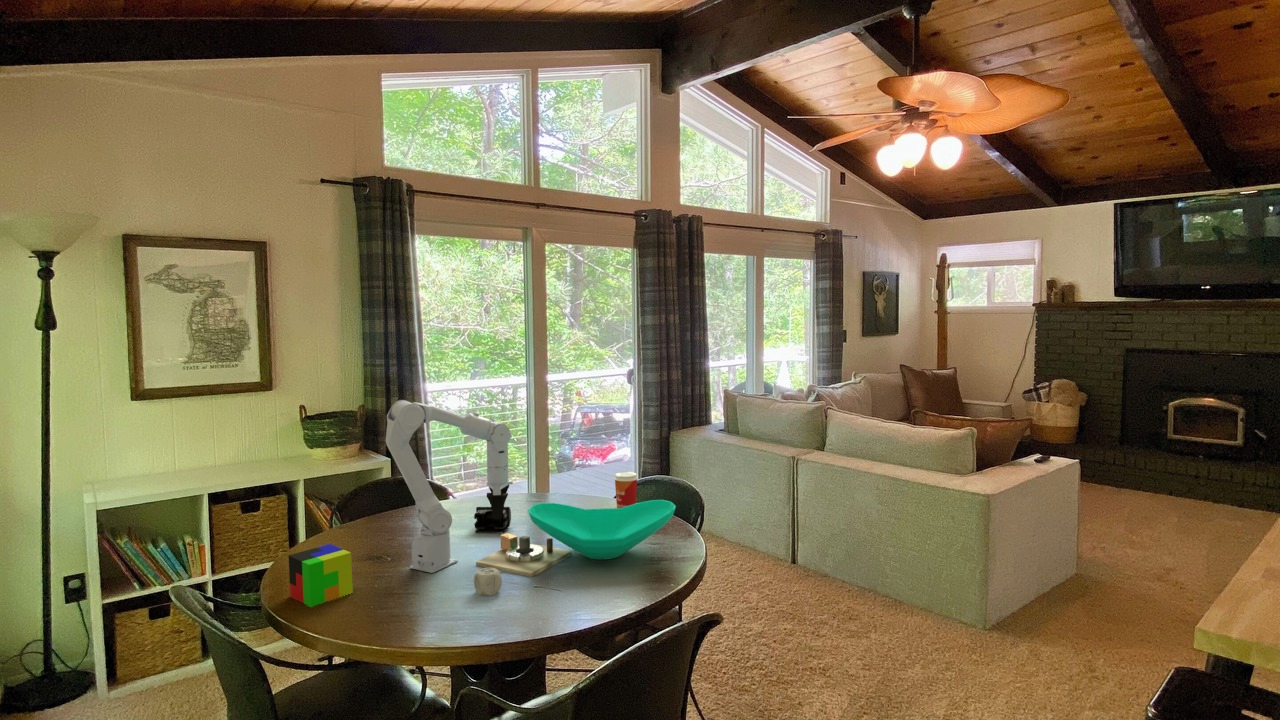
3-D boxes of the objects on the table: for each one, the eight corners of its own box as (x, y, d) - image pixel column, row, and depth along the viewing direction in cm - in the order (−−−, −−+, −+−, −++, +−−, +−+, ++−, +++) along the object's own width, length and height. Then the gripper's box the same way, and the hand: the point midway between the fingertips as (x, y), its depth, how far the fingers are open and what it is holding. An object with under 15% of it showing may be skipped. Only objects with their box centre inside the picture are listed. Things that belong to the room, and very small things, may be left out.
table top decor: (671, 536, 206) (670, 491, 205) (682, 572, 178) (681, 520, 177) (533, 540, 203) (532, 495, 202) (523, 577, 176) (522, 525, 175)
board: (532, 576, 176) (531, 553, 175) (476, 565, 184) (475, 542, 184) (572, 554, 192) (571, 532, 191) (518, 544, 200) (518, 523, 200)
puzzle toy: (331, 583, 173) (330, 543, 173) (352, 593, 167) (351, 552, 166) (290, 596, 166) (288, 555, 165) (310, 608, 159) (308, 564, 159)
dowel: (550, 553, 190) (550, 540, 190) (545, 552, 191) (545, 539, 191) (554, 551, 192) (553, 538, 191) (549, 550, 192) (548, 537, 192)
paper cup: (611, 515, 228) (611, 472, 226) (634, 513, 230) (633, 470, 229) (618, 522, 220) (617, 478, 219) (641, 519, 222) (641, 475, 221)
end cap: (511, 525, 218) (510, 504, 218) (506, 533, 211) (505, 510, 211) (479, 525, 218) (478, 504, 218) (473, 533, 211) (472, 511, 211)
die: (482, 597, 164) (481, 576, 163) (473, 591, 168) (473, 570, 167) (502, 592, 167) (501, 571, 166) (493, 586, 171) (492, 565, 170)
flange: (551, 554, 188) (550, 540, 188) (521, 564, 181) (520, 550, 181) (518, 542, 198) (518, 529, 197) (489, 552, 191) (488, 538, 190)
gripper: (511, 471, 187) (512, 521, 188) (513, 459, 201) (514, 506, 202) (484, 472, 186) (485, 522, 187) (488, 460, 200) (489, 507, 201)
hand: (498, 514), depth 195 cm, fingers open, 7 cm apart
